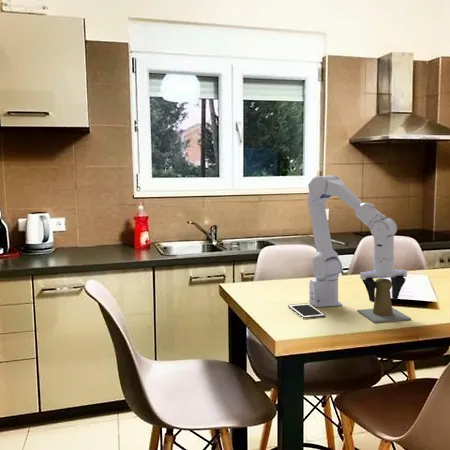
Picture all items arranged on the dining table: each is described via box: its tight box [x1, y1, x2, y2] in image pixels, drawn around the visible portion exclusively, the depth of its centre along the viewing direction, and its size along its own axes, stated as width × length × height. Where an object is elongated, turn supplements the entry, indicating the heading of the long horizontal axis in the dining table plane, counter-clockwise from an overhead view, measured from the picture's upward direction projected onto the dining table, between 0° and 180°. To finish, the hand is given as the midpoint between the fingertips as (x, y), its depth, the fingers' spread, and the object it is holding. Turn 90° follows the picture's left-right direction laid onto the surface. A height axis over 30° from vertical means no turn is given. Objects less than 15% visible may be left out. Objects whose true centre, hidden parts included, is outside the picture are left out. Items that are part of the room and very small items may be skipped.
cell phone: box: [287, 302, 326, 319], centre depth 156 cm, size 8×15×1 cm, turn 13°
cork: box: [372, 278, 393, 316], centre depth 150 cm, size 6×6×11 cm
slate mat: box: [356, 307, 412, 324], centre depth 150 cm, size 12×12×1 cm
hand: (383, 300), depth 149 cm, fingers open, 7 cm apart
